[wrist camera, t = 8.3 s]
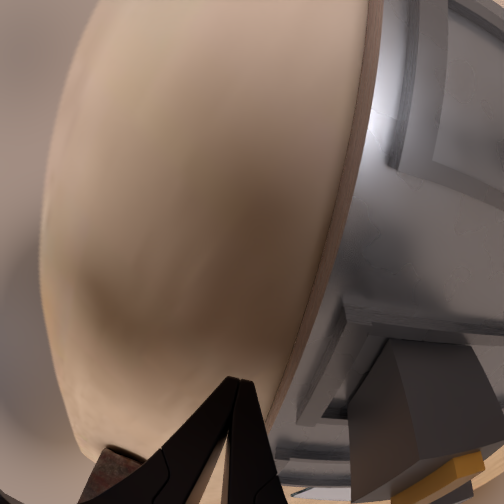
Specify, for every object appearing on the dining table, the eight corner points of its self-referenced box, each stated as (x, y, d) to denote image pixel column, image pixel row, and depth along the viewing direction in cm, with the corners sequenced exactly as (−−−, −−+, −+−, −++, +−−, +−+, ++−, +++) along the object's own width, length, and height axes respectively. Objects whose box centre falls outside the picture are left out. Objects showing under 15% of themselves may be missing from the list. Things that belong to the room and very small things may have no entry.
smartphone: (323, 482, 19) (424, 482, 20) (323, 477, 19) (423, 478, 20) (288, 496, 22) (385, 499, 23) (288, 492, 23) (385, 496, 23)
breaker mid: (470, 345, 8) (517, 454, 3) (422, 407, 10) (442, 503, 5) (389, 338, 8) (423, 484, 4) (346, 406, 10) (350, 520, 5)
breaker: (463, 447, 12) (475, 503, 7) (433, 470, 14) (439, 520, 9) (423, 454, 12) (432, 518, 7) (394, 476, 14) (397, 532, 9)
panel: (610, 156, 4) (637, 168, 1) (440, 456, 16) (445, 479, 14) (370, -27, 5) (391, -67, 2) (250, 456, 17) (245, 486, 15)
